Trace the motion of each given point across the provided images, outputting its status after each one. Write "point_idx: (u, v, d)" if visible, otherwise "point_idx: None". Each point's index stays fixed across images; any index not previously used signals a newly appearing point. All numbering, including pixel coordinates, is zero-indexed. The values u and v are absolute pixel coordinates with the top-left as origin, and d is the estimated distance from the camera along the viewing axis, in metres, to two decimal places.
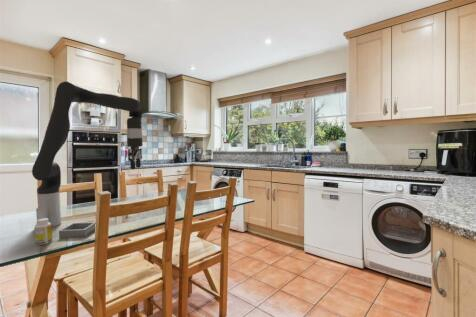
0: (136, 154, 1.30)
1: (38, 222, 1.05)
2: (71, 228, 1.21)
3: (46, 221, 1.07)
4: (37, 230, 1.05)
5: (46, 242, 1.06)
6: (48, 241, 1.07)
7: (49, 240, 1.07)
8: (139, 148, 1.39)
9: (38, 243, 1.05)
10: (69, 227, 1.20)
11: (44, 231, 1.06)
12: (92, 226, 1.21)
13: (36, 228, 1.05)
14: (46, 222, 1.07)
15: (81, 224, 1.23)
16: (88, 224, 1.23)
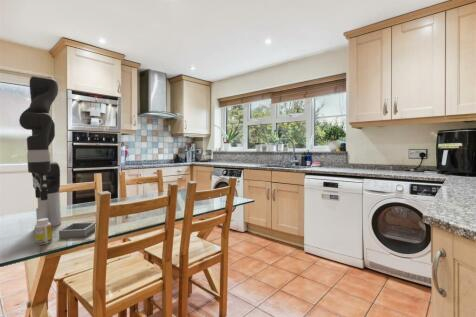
0: (33, 181, 1.07)
1: (38, 222, 1.05)
2: (71, 228, 1.21)
3: (46, 221, 1.07)
4: (37, 230, 1.05)
5: (46, 242, 1.06)
6: (48, 241, 1.07)
7: (49, 240, 1.07)
8: (42, 175, 1.02)
9: (38, 243, 1.05)
10: (69, 227, 1.20)
11: (44, 231, 1.06)
12: (92, 226, 1.21)
13: (36, 228, 1.05)
14: (46, 222, 1.07)
15: (81, 224, 1.23)
16: (88, 224, 1.23)
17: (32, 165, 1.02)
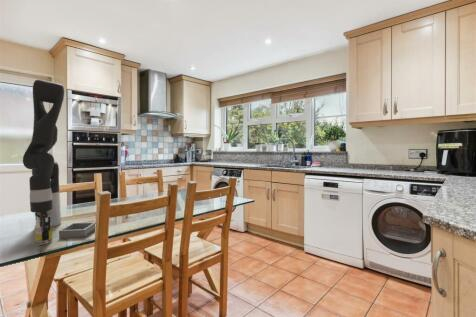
0: (36, 220, 1.08)
1: (38, 222, 1.05)
2: (71, 228, 1.21)
3: None
4: (37, 230, 1.05)
5: (46, 242, 1.06)
6: (48, 241, 1.07)
7: (49, 240, 1.07)
8: (44, 217, 1.03)
9: (38, 243, 1.05)
10: (69, 227, 1.20)
11: None
12: (92, 226, 1.21)
13: (36, 228, 1.05)
14: None
15: (81, 224, 1.23)
16: (88, 224, 1.23)
17: (35, 206, 1.03)
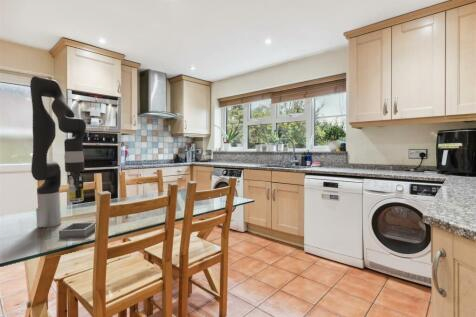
0: (69, 180, 1.18)
1: None
2: (71, 228, 1.21)
3: None
4: (71, 188, 1.14)
5: (79, 200, 1.16)
6: (81, 199, 1.17)
7: (81, 199, 1.17)
8: (78, 176, 1.13)
9: (72, 200, 1.15)
10: (69, 227, 1.20)
11: None
12: (92, 226, 1.21)
13: (70, 187, 1.15)
14: None
15: (81, 224, 1.23)
16: (88, 224, 1.23)
17: (69, 165, 1.13)
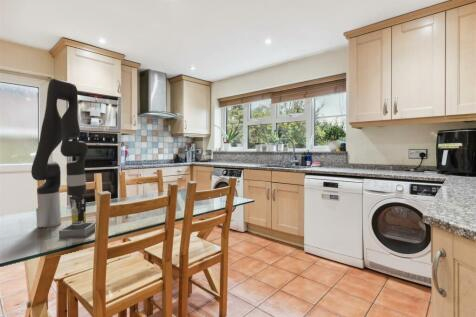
0: (71, 203, 1.18)
1: (74, 204, 1.16)
2: (71, 228, 1.21)
3: None
4: (74, 211, 1.15)
5: (81, 223, 1.17)
6: (83, 222, 1.18)
7: (84, 221, 1.18)
8: (81, 200, 1.14)
9: (74, 223, 1.16)
10: (69, 227, 1.20)
11: None
12: (92, 226, 1.21)
13: (73, 210, 1.15)
14: None
15: (81, 224, 1.23)
16: (88, 224, 1.23)
17: (72, 189, 1.14)
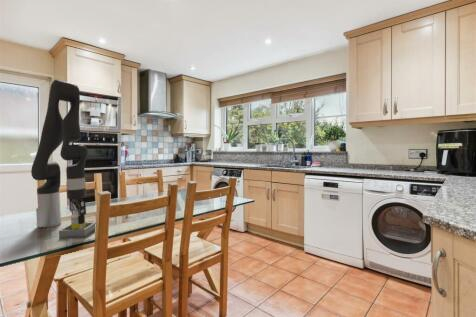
0: (70, 206, 1.19)
1: (74, 212, 1.16)
2: (71, 228, 1.21)
3: (81, 211, 1.18)
4: (74, 219, 1.15)
5: None
6: None
7: None
8: (80, 202, 1.13)
9: None
10: (69, 227, 1.20)
11: None
12: (92, 226, 1.21)
13: (72, 218, 1.16)
14: (81, 212, 1.18)
15: None
16: (88, 224, 1.23)
17: (71, 193, 1.14)
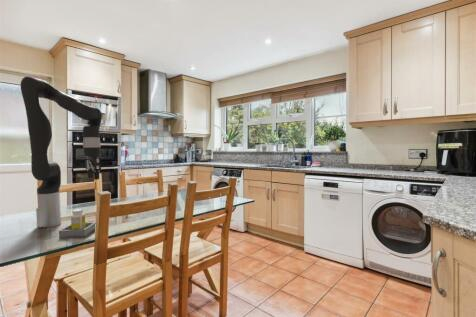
0: (86, 164, 1.27)
1: (74, 212, 1.16)
2: (71, 228, 1.21)
3: (81, 211, 1.18)
4: (74, 219, 1.15)
5: None
6: None
7: None
8: (96, 158, 1.22)
9: None
10: (69, 227, 1.20)
11: (79, 221, 1.16)
12: (92, 226, 1.21)
13: (72, 218, 1.16)
14: (81, 212, 1.18)
15: None
16: (88, 224, 1.23)
17: (88, 150, 1.22)
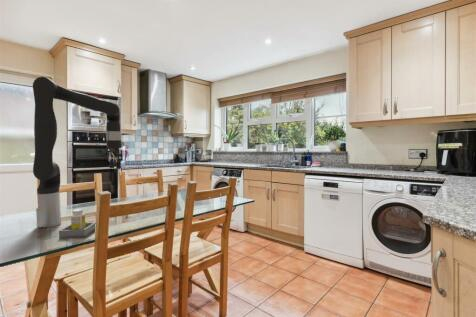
0: (109, 155, 1.43)
1: (74, 212, 1.16)
2: (71, 228, 1.21)
3: (81, 211, 1.18)
4: (74, 219, 1.16)
5: None
6: None
7: None
8: (118, 150, 1.38)
9: None
10: (69, 227, 1.20)
11: (79, 221, 1.16)
12: (92, 226, 1.21)
13: (72, 218, 1.16)
14: (81, 212, 1.18)
15: None
16: (88, 224, 1.23)
17: (111, 143, 1.38)
